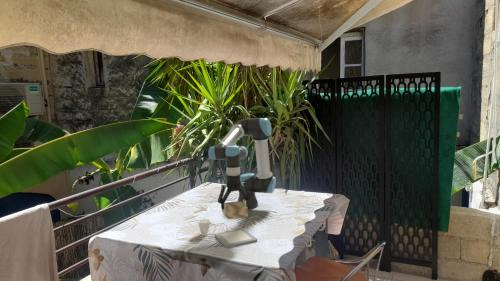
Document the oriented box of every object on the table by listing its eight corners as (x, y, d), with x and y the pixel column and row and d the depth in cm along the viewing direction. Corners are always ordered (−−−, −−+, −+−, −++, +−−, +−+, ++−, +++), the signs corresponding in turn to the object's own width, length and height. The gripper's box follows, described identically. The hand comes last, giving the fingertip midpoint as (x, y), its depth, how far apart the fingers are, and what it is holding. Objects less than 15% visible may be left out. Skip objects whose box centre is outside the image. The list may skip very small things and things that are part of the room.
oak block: (240, 209, 202) (240, 200, 201) (248, 216, 189) (247, 207, 189) (222, 211, 198) (221, 203, 197) (228, 219, 186) (228, 210, 185)
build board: (243, 230, 207) (243, 228, 207) (257, 241, 191) (257, 239, 191) (215, 236, 200) (215, 233, 200) (226, 248, 184) (226, 245, 183)
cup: (199, 232, 206) (198, 218, 205) (216, 231, 207) (215, 218, 206) (197, 236, 199) (197, 223, 198) (215, 236, 200) (214, 222, 199)
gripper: (250, 170, 199) (251, 207, 202) (210, 175, 189) (212, 214, 192) (256, 173, 192) (257, 211, 195) (215, 178, 182) (216, 218, 185)
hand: (234, 213), depth 194 cm, fingers closed on oak block, 11 cm apart
